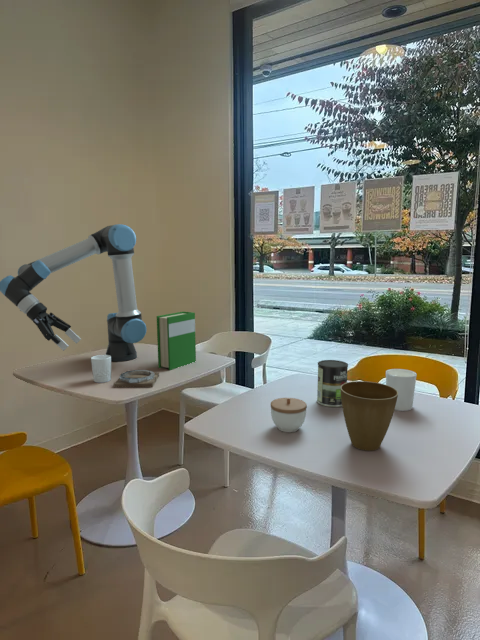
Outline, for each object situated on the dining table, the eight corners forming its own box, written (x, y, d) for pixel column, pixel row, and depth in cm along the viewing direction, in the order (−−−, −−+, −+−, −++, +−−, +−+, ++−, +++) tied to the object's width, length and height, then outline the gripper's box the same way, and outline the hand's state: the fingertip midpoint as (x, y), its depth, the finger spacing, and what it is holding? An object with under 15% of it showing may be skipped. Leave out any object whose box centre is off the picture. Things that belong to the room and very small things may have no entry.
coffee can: (352, 403, 150) (354, 364, 148) (331, 409, 144) (332, 368, 142) (331, 395, 158) (332, 358, 156) (310, 400, 153) (311, 362, 151)
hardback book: (170, 370, 193) (168, 317, 189) (158, 367, 197) (156, 316, 193) (195, 361, 207) (194, 312, 203) (184, 359, 211) (183, 311, 207)
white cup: (115, 378, 182) (114, 354, 180) (107, 383, 174) (106, 359, 172) (97, 377, 182) (95, 354, 181) (89, 383, 175) (87, 359, 173)
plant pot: (339, 455, 112) (341, 396, 109) (337, 432, 126) (339, 379, 124) (399, 460, 109) (403, 400, 107) (390, 435, 124) (393, 382, 121)
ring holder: (123, 376, 184) (123, 369, 183) (159, 376, 184) (158, 369, 183) (114, 387, 169) (113, 380, 168) (152, 387, 169) (152, 379, 168)
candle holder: (417, 405, 148) (419, 371, 146) (410, 414, 140) (412, 378, 138) (388, 399, 153) (390, 367, 151) (380, 408, 145) (382, 373, 143)
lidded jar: (313, 428, 129) (314, 398, 128) (290, 439, 122) (291, 407, 120) (285, 418, 137) (286, 390, 135) (263, 428, 130) (263, 398, 128)
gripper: (40, 310, 186) (77, 344, 188) (10, 319, 161) (53, 358, 163) (52, 298, 185) (89, 332, 187) (24, 305, 160) (66, 344, 163)
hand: (72, 344), depth 175 cm, fingers open, 13 cm apart
